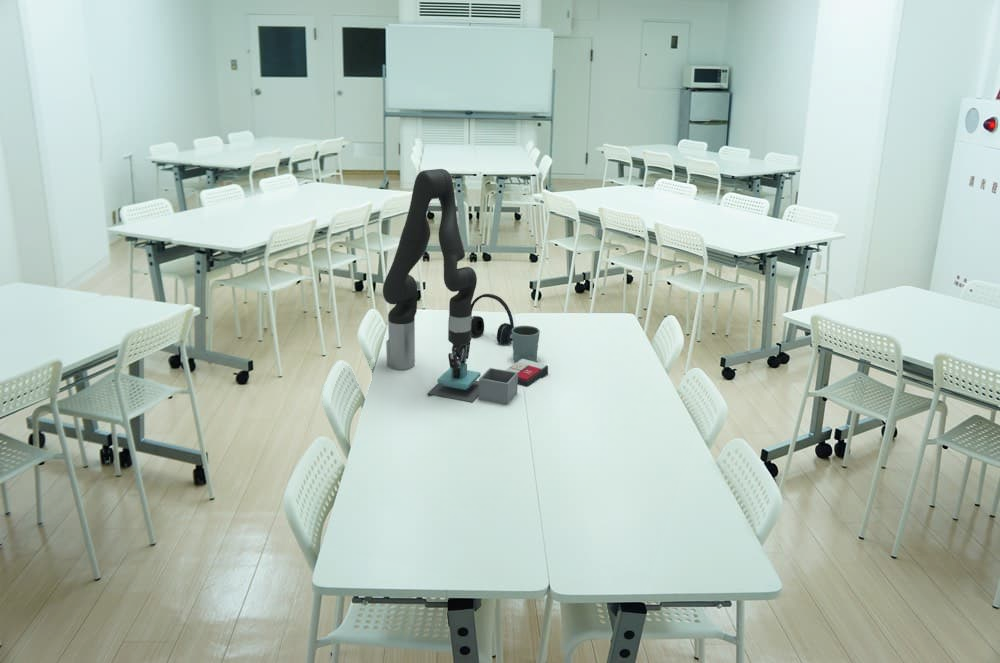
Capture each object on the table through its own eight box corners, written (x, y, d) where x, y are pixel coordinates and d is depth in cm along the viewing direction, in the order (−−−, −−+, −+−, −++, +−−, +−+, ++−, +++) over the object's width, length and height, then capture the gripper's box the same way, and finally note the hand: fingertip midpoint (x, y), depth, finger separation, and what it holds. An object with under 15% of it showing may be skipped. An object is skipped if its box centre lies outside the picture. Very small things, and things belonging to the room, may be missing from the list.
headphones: (463, 336, 332) (464, 292, 326) (474, 331, 338) (474, 287, 331) (506, 348, 322) (508, 302, 316) (516, 342, 328) (518, 297, 321)
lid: (437, 386, 281) (437, 368, 278) (450, 374, 290) (450, 356, 288) (468, 392, 277) (468, 373, 275) (480, 379, 287) (480, 361, 285)
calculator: (499, 372, 292) (521, 356, 304) (499, 383, 294) (521, 367, 306) (527, 379, 287) (548, 363, 299) (527, 391, 289) (548, 374, 300)
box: (478, 401, 278) (479, 378, 275) (489, 389, 286) (489, 367, 284) (507, 406, 274) (508, 384, 272) (517, 394, 283) (518, 372, 280)
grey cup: (543, 362, 310) (545, 332, 306) (521, 368, 305) (522, 336, 300) (527, 353, 318) (528, 323, 313) (505, 358, 312) (506, 328, 308)
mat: (427, 396, 280) (427, 393, 280) (446, 378, 294) (446, 375, 294) (472, 404, 275) (472, 401, 275) (489, 385, 289) (489, 383, 289)
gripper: (457, 318, 284) (456, 366, 290) (440, 332, 272) (440, 381, 278) (478, 322, 282) (477, 369, 288) (462, 336, 269) (461, 385, 275)
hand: (459, 375), depth 283 cm, fingers closed on lid, 4 cm apart
